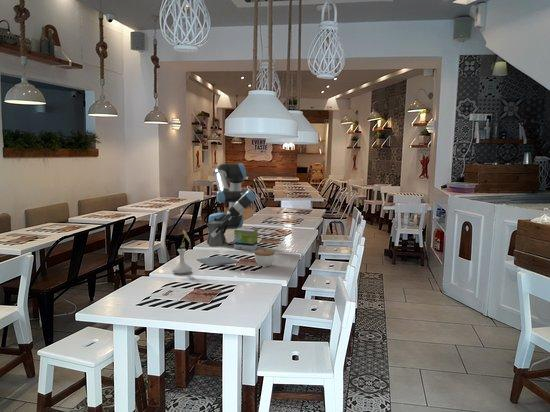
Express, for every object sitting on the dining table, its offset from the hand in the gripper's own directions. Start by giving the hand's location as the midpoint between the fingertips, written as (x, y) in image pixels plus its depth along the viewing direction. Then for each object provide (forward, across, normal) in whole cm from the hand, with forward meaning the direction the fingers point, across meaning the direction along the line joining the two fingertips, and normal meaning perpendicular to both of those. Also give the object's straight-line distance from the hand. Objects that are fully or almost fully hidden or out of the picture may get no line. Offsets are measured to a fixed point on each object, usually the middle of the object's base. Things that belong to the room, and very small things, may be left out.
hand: (211, 234), depth 280 cm
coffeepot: (+3, 0, -8) cm, 8 cm away
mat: (+10, 0, -15) cm, 18 cm away
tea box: (-6, +35, -31) cm, 47 cm away
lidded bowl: (-10, -15, -36) cm, 40 cm away
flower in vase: (+25, -23, 0) cm, 34 cm away
